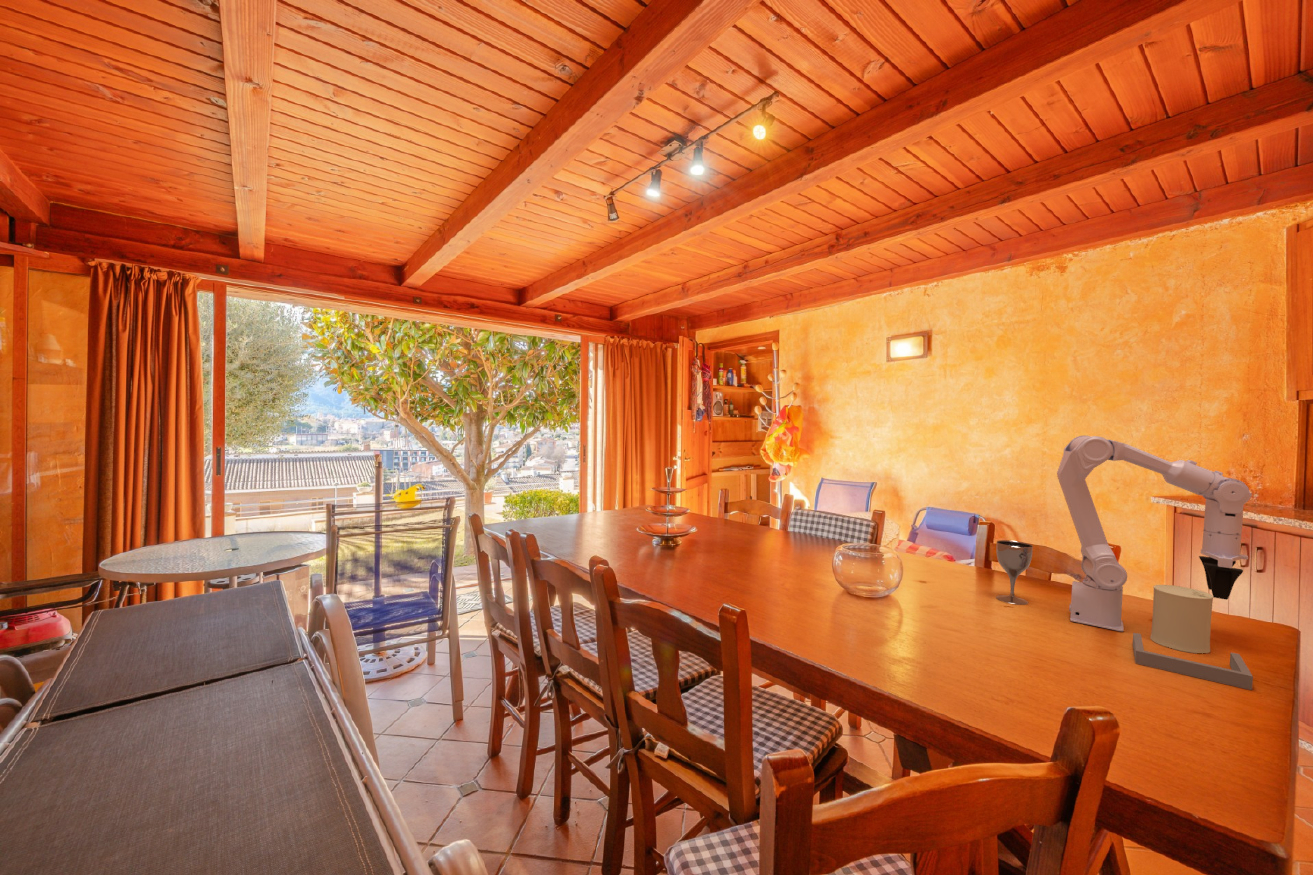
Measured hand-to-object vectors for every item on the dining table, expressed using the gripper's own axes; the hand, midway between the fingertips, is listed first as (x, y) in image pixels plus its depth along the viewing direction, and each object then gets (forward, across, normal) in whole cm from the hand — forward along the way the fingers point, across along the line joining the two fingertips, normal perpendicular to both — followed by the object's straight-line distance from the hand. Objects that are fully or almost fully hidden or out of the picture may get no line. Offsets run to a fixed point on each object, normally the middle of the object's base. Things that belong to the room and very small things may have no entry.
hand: (1217, 594), depth 117 cm
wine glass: (+11, 0, +37) cm, 39 cm away
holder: (+10, -22, +6) cm, 25 cm away
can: (+10, -9, +6) cm, 15 cm away
